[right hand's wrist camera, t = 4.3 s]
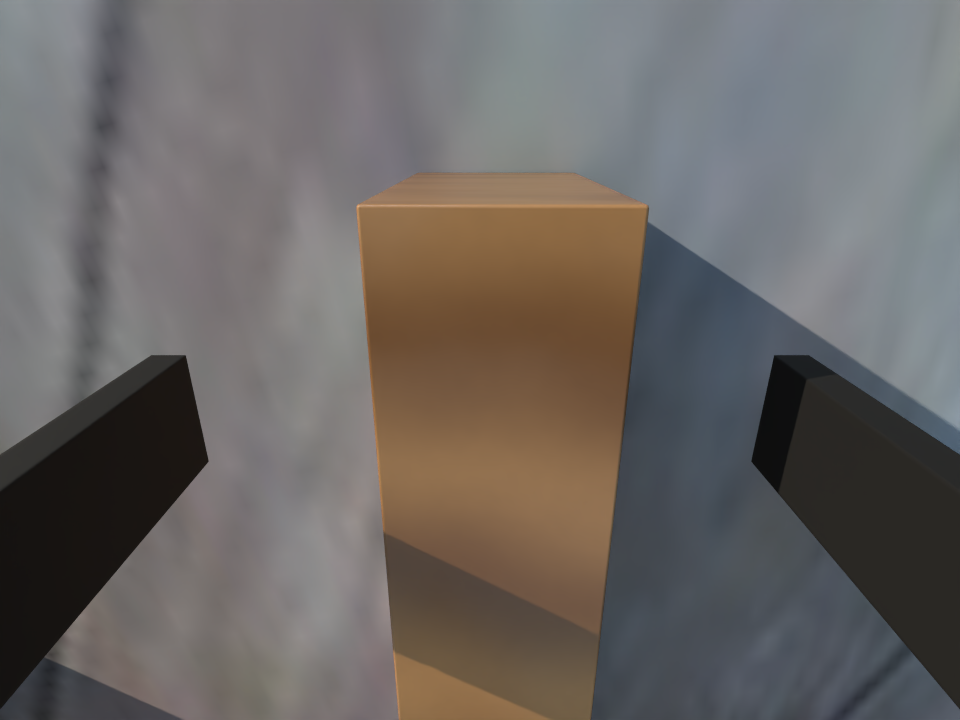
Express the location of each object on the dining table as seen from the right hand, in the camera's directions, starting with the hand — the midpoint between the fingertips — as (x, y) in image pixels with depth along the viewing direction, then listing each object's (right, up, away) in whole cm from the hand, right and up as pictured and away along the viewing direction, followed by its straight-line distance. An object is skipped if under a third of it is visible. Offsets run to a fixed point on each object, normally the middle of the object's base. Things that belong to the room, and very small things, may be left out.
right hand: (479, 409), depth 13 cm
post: (0, -18, +13) cm, 22 cm away
